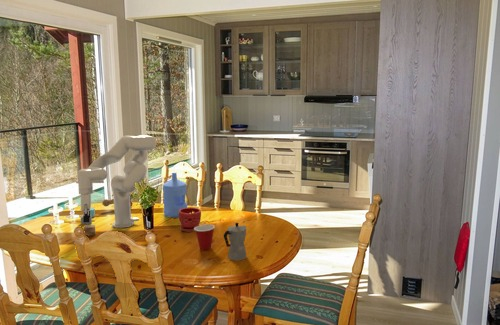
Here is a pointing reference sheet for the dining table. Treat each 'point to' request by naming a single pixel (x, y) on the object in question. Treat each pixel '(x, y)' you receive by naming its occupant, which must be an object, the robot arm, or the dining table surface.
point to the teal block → (92, 212)
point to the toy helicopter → (108, 202)
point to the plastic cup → (204, 236)
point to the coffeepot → (236, 242)
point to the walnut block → (89, 230)
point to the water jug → (174, 196)
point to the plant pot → (189, 219)
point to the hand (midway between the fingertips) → (87, 219)
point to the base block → (86, 222)
